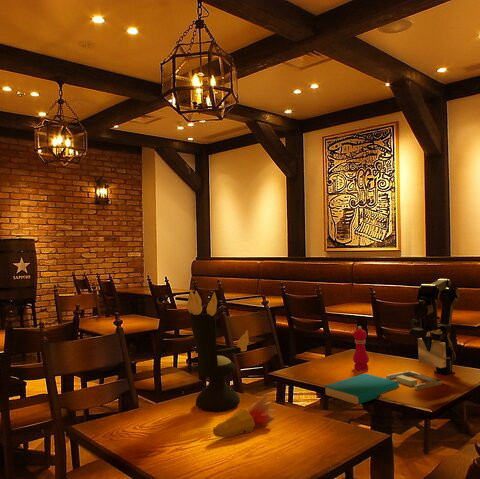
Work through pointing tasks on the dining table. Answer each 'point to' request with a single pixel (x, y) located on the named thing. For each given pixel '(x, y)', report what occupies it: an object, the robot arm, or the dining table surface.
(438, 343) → the sheet
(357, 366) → the pepper mill
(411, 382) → the offcut top
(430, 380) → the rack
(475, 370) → the dining table surface
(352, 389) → the book
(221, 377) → the candelabra
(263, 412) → the torch
